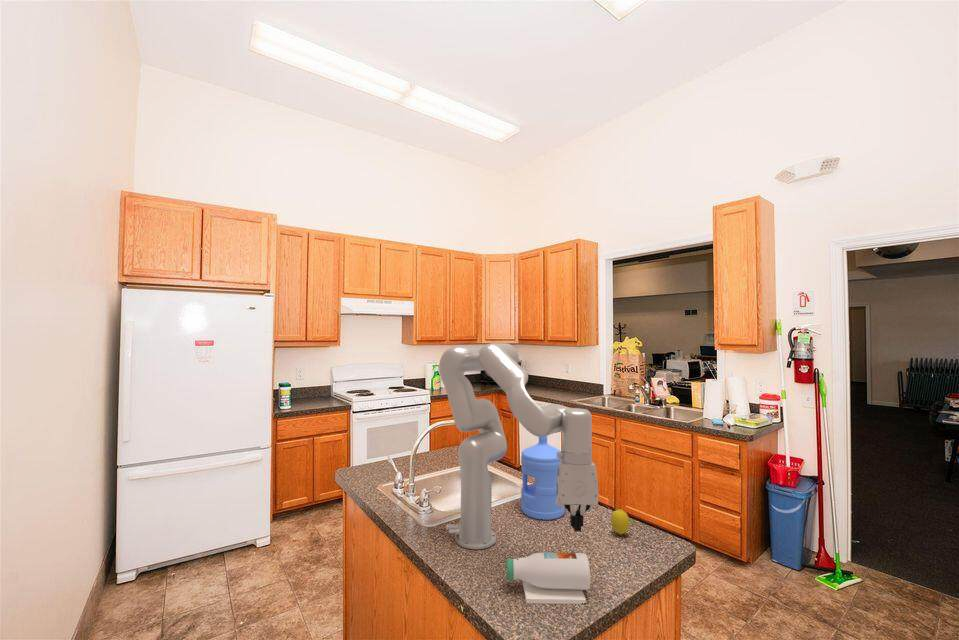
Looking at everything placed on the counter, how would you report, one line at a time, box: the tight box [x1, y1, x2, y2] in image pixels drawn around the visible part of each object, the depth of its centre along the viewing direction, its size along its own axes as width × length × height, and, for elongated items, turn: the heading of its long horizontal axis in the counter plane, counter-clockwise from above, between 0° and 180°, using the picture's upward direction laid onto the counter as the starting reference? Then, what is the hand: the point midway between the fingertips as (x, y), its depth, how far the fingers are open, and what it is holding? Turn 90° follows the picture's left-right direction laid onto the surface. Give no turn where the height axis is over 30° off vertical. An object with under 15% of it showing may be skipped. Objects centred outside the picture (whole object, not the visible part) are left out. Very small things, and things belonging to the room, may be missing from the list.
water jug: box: [520, 436, 566, 521], centre depth 147 cm, size 16×16×28 cm
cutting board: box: [518, 557, 587, 605], centre depth 104 cm, size 14×18×1 cm
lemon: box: [610, 508, 630, 536], centre depth 130 cm, size 6×6×8 cm
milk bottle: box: [506, 551, 592, 591], centre depth 101 cm, size 8×8×20 cm
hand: (576, 529), depth 105 cm, fingers closed
